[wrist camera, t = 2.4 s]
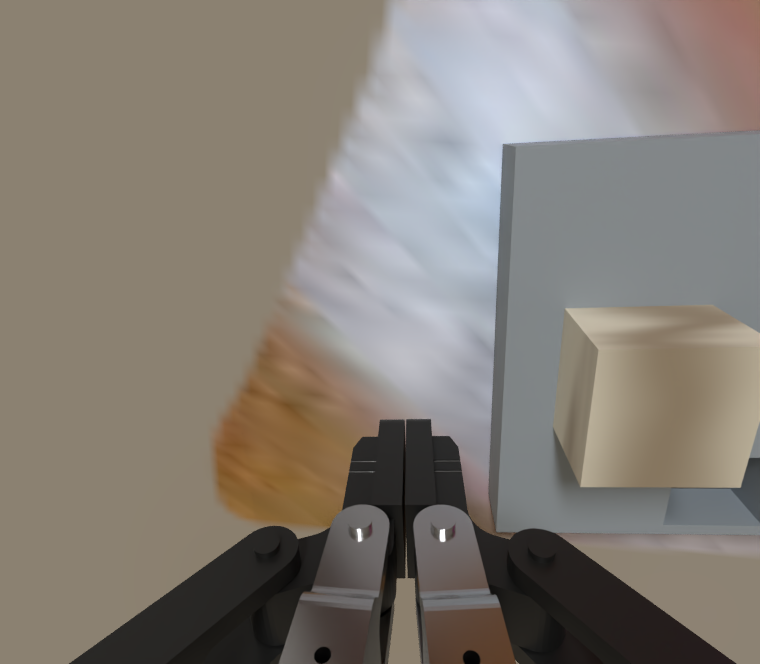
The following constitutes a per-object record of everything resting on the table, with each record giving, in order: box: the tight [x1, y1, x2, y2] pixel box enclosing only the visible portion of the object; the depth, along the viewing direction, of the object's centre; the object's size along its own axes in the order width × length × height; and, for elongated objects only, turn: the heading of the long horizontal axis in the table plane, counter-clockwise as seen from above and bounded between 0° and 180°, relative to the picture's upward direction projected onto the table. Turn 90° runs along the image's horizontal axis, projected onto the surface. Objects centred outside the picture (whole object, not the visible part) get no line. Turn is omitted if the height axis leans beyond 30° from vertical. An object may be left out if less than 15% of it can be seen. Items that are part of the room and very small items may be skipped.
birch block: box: [553, 305, 760, 488], centre depth 17 cm, size 5×5×4 cm
